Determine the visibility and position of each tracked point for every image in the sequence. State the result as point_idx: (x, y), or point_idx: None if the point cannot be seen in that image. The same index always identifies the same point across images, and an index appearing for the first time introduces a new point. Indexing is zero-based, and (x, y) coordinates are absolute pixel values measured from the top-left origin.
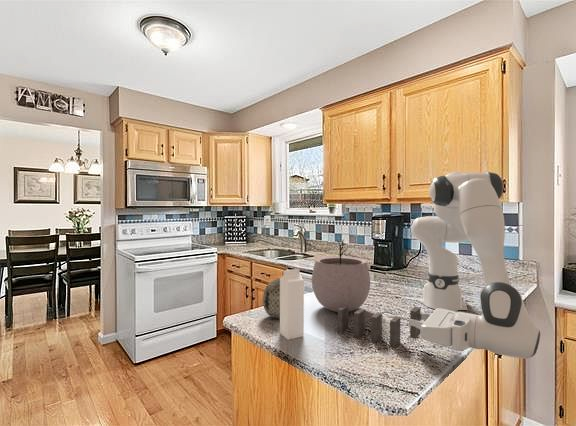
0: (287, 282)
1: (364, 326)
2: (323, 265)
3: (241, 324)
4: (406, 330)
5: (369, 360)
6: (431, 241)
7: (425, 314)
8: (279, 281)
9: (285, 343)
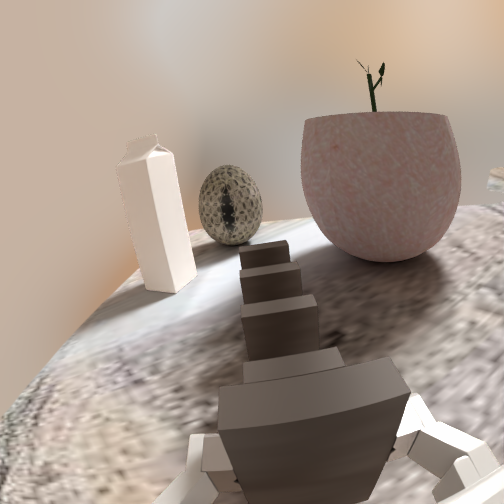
0: (117, 167)
1: None
2: (304, 126)
3: None
4: (461, 390)
5: (110, 429)
6: None
7: (444, 448)
8: (218, 169)
9: (130, 294)
